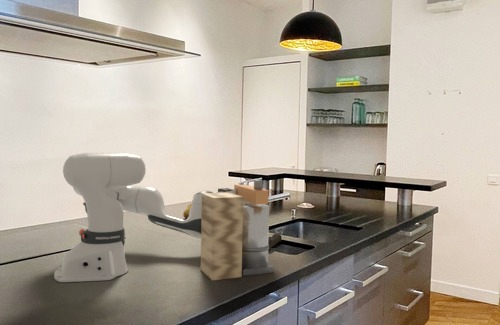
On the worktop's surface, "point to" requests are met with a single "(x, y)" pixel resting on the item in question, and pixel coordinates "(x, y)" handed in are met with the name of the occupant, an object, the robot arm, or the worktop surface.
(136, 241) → the worktop surface
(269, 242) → the hand tool
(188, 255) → the worktop surface
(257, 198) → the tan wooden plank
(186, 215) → the bread roll
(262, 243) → the motor housing
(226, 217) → the zigzag patterned pillar
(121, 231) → the robot arm
